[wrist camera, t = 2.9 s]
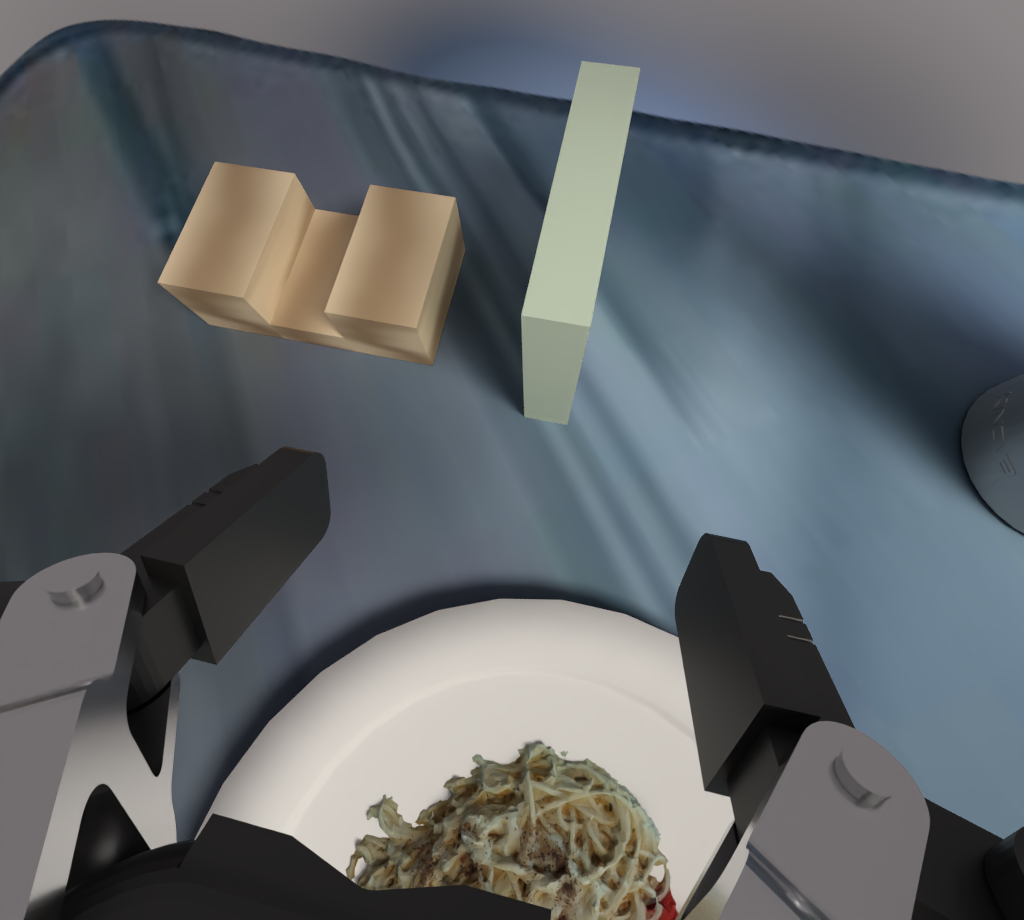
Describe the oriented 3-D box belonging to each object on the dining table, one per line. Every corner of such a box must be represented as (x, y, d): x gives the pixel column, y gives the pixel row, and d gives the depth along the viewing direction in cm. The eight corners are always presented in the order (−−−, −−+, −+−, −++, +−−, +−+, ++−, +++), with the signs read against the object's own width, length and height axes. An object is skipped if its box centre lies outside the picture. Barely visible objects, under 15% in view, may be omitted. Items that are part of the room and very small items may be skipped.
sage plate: (602, 244, 28) (640, 67, 19) (567, 425, 25) (590, 327, 16) (563, 238, 28) (581, 61, 19) (524, 417, 25) (520, 315, 16)
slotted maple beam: (465, 250, 28) (455, 197, 24) (432, 365, 26) (416, 328, 22) (256, 216, 30) (215, 161, 26) (209, 324, 28) (157, 282, 24)
